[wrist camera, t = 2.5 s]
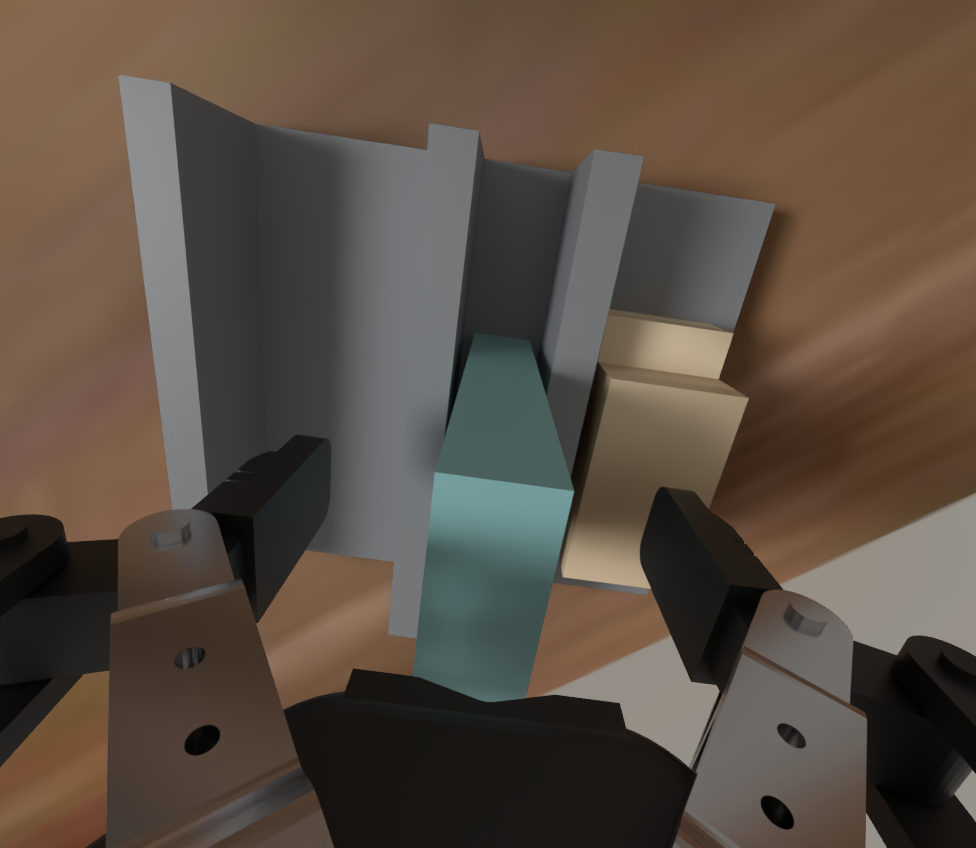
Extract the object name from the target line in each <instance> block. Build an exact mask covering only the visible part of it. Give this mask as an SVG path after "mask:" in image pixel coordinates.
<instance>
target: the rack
mask: <svg viewBox="0 0 976 848" xmlns="http://www.w3.org/2000/svg"><path fill="white" fill-rule="evenodd" d="M119 83H120V91H121V99H122V107H123V115H124V123H125V131H126V139H127V147H128V155H129V163H130V171H131V179H132V187H133V195H134V204H135V212H136V220H137V228H138V236H139V244H140V252H141V260H142V268H143V276H144V284H145V292H146V300H147V308H148V316H149V324H150V332H151V340H152V348H153V357H154V365H155V373H156V381H157V389H158V397H159V405H160V413H161V421H162V429H163V437H164V445H165V453H166V461H167V469H168V477H169V485H170V493H171V502H172V510H175V509H191V508H192V507H194V506H195V505H196V504H197V503H198V502H200V501H201V500H202V499H203V498H204V497H205V496H207V495H208V494H209V493H210V492H211V491H213V490H214V489H215V488H216V487H217V486H218V485H220V484H221V483H222V482H225V481H226V479H227V478H228V477H229V476H230V475H232V474H233V473H234V472H237V469H239V468H240V467H241V466H242V465H243V464H245V463H246V462H247V461H248V460H249V459H251V458H253V457H256V456H258V455H261V454H263V453H266V452H268V451H276V452H277V451H278V450H279V449H280V448H281V447H282V446H283V445H285V444H286V443H287V442H288V441H289V440H290V439H291V438H292V437H293V436H295V435H296V434H299V435H306V436H313V437H320V438H327V439H329V440H330V443H331V485H330V503H329V508H328V512H327V515H326V518H325V520H324V522H323V523H322V525H321V527H320V528H319V530H318V531H317V533H316V534H315V536H314V537H313V539H312V540H311V542H310V544H309V545H308V547H307V548H306V550H307V551H315V552H323V553H330V554H338V555H346V556H353V557H361V558H369V559H376V560H384V561H392V562H394V569H393V582H392V594H391V607H390V619H389V632H388V635H395V636H403V637H411V638H417V631H418V621H419V612H420V603H421V594H422V585H423V576H424V567H425V557H426V548H427V539H428V530H429V521H430V512H431V503H432V493H433V484H434V475H435V470H436V466H437V463H438V459H439V456H440V452H441V449H442V446H443V442H444V439H445V435H446V432H447V428H448V425H449V421H450V418H451V414H452V411H453V407H454V404H455V400H456V397H457V393H458V390H459V387H460V383H461V380H462V376H463V373H464V369H465V366H466V362H467V359H468V355H469V352H470V348H471V345H472V341H473V338H474V334H475V333H481V334H488V335H495V336H502V337H509V338H516V339H523V340H530V343H531V346H532V350H533V353H534V356H535V360H536V363H537V367H538V370H539V373H540V377H541V380H542V384H543V387H544V390H545V394H546V397H547V401H548V404H549V407H550V411H551V414H552V417H553V421H554V424H555V428H556V431H557V434H558V438H559V441H560V445H561V448H562V451H563V455H564V458H565V462H566V465H567V468H568V472H569V475H570V478H571V473H572V469H573V465H574V460H575V456H576V452H577V447H578V443H579V439H580V434H581V430H582V425H583V421H584V417H585V412H586V408H587V404H588V399H589V395H590V391H591V386H592V382H593V377H594V373H595V369H596V364H597V360H598V356H599V351H600V347H601V343H602V338H603V334H604V329H605V325H606V321H607V316H608V312H609V309H614V310H621V311H628V312H634V313H641V314H648V315H655V316H662V317H669V318H675V319H682V320H689V321H696V322H703V323H708V324H711V325H713V326H716V327H718V328H721V329H724V330H726V331H729V332H731V333H733V332H734V329H735V326H736V323H737V320H738V317H739V314H740V311H741V308H742V305H743V302H744V299H745V296H746V293H747V290H748V287H749V284H750V280H751V277H752V274H753V271H754V268H755V265H756V262H757V259H758V256H759V253H760V250H761V247H762V244H763V241H764V238H765V235H766V232H767V229H768V226H769V223H770V220H771V217H772V214H773V211H774V208H775V205H776V204H773V203H767V202H760V201H754V200H747V199H741V198H734V197H728V196H721V195H715V194H708V193H702V192H695V191H689V190H682V189H676V188H669V187H663V186H657V185H650V184H644V183H638V181H639V177H640V172H641V168H642V164H643V159H644V157H643V156H636V155H630V154H624V153H617V152H611V151H604V150H598V149H595V150H593V151H592V152H591V153H590V154H589V155H588V156H587V157H586V158H585V159H584V160H583V161H582V162H581V163H580V164H579V165H578V166H577V167H576V168H575V169H574V170H573V171H572V172H566V171H559V170H553V169H546V168H540V167H533V166H527V165H520V164H514V163H507V162H501V161H494V160H488V159H485V158H484V153H483V148H482V143H481V137H480V132H479V131H476V130H469V129H463V128H457V127H450V126H444V125H437V124H431V123H429V132H428V144H427V150H423V149H416V148H410V147H403V146H397V145H390V144H384V143H377V142H371V141H364V140H358V139H352V138H345V137H339V136H332V135H326V134H319V133H313V132H306V131H300V130H293V129H287V128H280V127H274V126H267V125H261V124H254V123H252V122H250V121H248V120H246V119H244V118H242V117H240V116H238V115H236V114H234V113H232V112H229V111H227V110H225V109H223V108H221V107H219V106H217V105H215V104H213V103H211V102H209V101H207V100H205V99H203V98H200V97H198V96H196V95H194V94H192V93H190V92H188V91H186V90H184V89H182V88H180V87H178V86H176V85H174V84H171V83H167V82H161V81H155V80H148V79H142V78H135V77H129V76H122V75H119ZM553 583H560V584H567V585H575V586H583V587H590V588H598V589H606V590H613V591H621V592H629V593H636V594H644V595H647V593H648V589H649V588H641V587H634V586H626V585H619V584H611V583H603V582H596V581H588V580H580V579H573V578H565V577H563V576H562V570H561V565H560V559H559V558H558V562H557V566H556V571H555V575H554V579H553Z"/></svg>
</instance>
